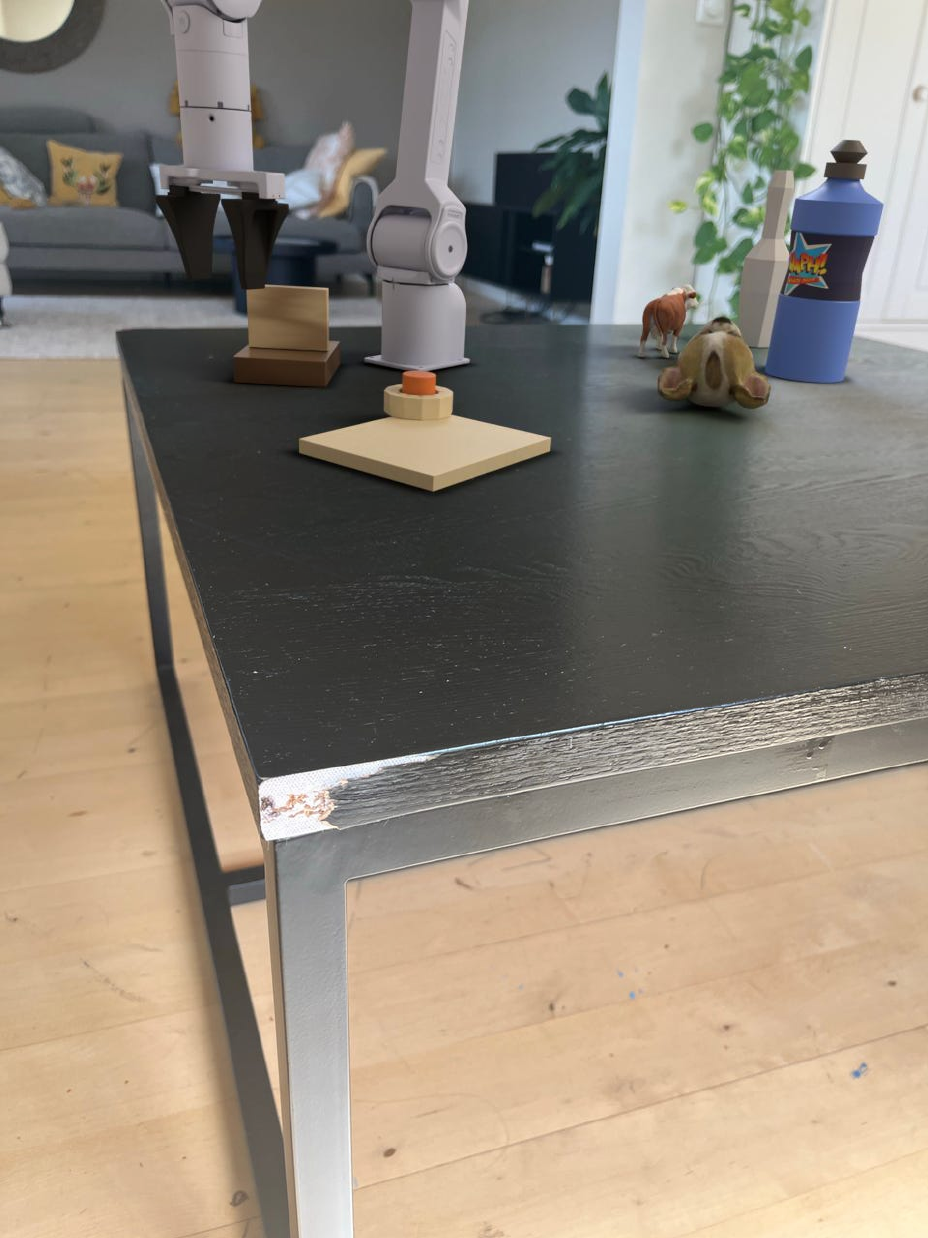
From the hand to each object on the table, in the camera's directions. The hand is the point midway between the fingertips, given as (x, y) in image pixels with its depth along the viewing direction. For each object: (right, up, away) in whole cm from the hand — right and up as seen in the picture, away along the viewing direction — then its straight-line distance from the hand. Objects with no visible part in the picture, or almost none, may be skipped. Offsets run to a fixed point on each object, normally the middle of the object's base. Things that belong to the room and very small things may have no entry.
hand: (225, 283), depth 84 cm
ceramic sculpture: (+46, -8, +11) cm, 48 cm away
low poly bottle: (+61, +8, +49) cm, 79 cm away
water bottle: (+62, -1, +29) cm, 68 cm away
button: (+17, -11, -4) cm, 21 cm away
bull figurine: (+47, +4, +38) cm, 60 cm away
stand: (+3, -4, +15) cm, 15 cm away
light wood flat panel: (+3, -2, +14) cm, 14 cm away
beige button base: (+18, -16, -9) cm, 26 cm away
